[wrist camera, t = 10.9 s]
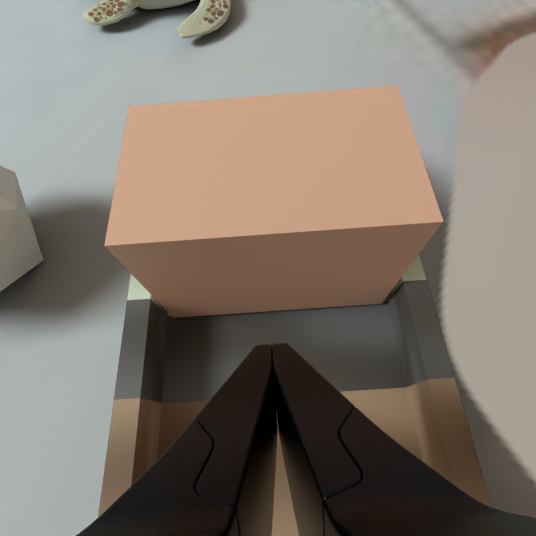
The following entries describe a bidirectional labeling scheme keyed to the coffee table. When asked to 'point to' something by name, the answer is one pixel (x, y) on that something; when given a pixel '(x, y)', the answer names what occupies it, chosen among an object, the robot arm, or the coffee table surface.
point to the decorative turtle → (122, 3)
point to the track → (317, 355)
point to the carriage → (271, 201)
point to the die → (15, 232)
